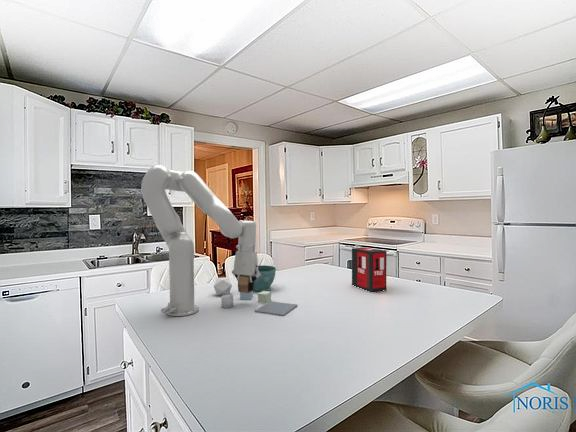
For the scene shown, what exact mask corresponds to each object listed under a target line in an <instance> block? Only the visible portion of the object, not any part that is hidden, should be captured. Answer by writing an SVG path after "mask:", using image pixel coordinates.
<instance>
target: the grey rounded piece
mask: <svg viewBox="0 0 576 432" xmlns="http://www.w3.org/2000/svg"><path fill="white" fill-rule="evenodd" d="M220 296H221V301H220V302H221V308H223V309H232V308H233V307H234V295H233V294H229V295H220Z"/></svg>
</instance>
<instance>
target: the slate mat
mask: <svg viewBox="0 0 576 432" xmlns="http://www.w3.org/2000/svg"><path fill="white" fill-rule="evenodd" d="M297 307H298V304H296V303H288V302H287V303H286V302H278V301H273V300H271V301H269V302H267V303H264V304H263V305H261V306H260V307H258V308H257V309H255V310H254V312H255V313H257V314H258V313H259V314H266V315H272V316H273V315H274V316H279V317H280V316H281V317H285V316H286V315H287V314H289V313H290V312H292V311H293V310H294V309H295V308H297Z"/></svg>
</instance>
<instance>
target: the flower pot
mask: <svg viewBox="0 0 576 432" xmlns="http://www.w3.org/2000/svg"><path fill="white" fill-rule="evenodd" d="M258 270H259V272H260V274H261V276H260V277H259V278H257V279H256V280H255V281H254V289H253V292H254V291H255V292H262V291H269V290H270V288H271V286H272V284H273V283H274V280H275V279H276V278H275V277H276V272H277V271H276V270H277V268H276V266H272V265H266V264H264V265H258ZM254 276H256V274H254Z"/></svg>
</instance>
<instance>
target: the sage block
mask: <svg viewBox="0 0 576 432" xmlns="http://www.w3.org/2000/svg"><path fill="white" fill-rule="evenodd" d="M270 301H272V292H271V291H269V290H266V291H259V292H258V293H257V302H258V303H260V304H261V303H263V304H267V303H268V302H270Z"/></svg>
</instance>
